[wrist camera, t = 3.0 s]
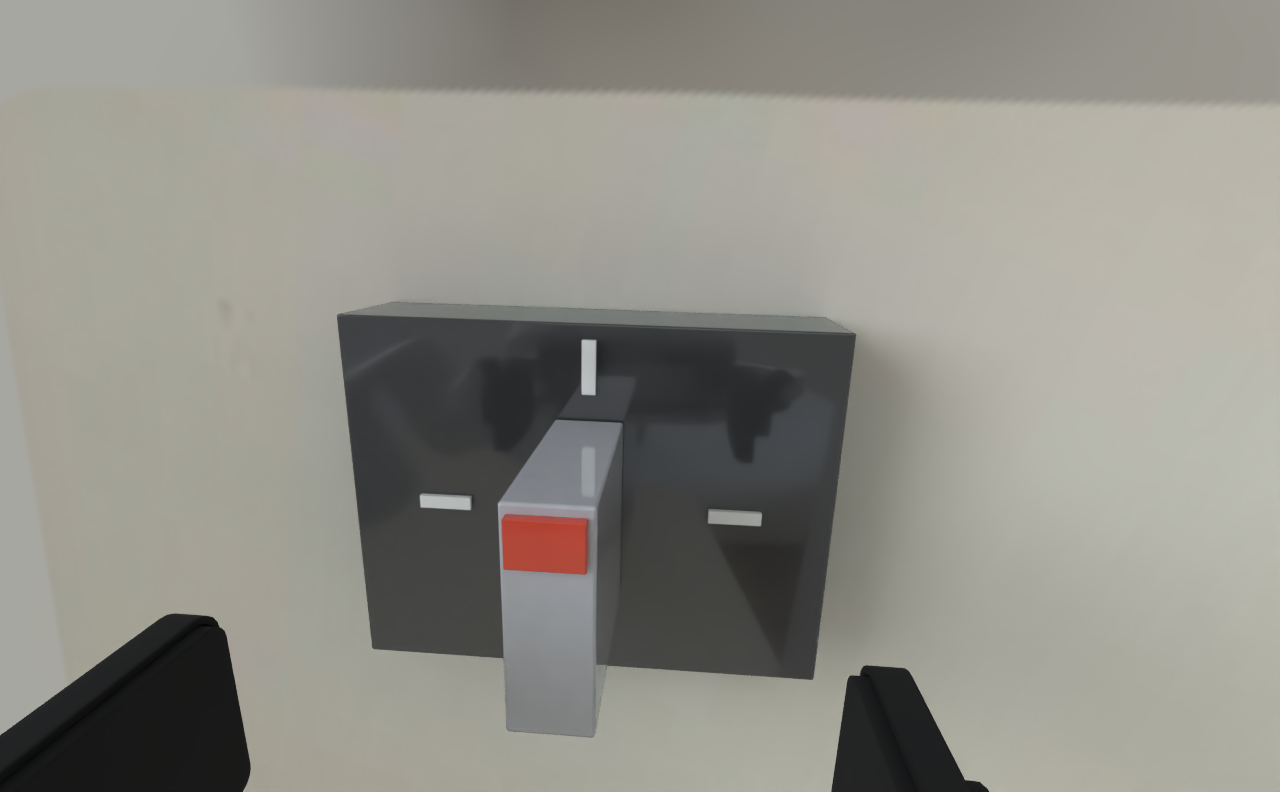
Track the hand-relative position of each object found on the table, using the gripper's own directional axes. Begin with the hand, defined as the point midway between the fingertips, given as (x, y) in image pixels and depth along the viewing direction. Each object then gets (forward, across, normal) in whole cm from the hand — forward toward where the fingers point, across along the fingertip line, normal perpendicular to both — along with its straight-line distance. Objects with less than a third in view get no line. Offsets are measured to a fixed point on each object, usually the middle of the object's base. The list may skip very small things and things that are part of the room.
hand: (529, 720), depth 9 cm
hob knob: (+7, 0, 0) cm, 7 cm away
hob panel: (+10, 0, 0) cm, 10 cm away
